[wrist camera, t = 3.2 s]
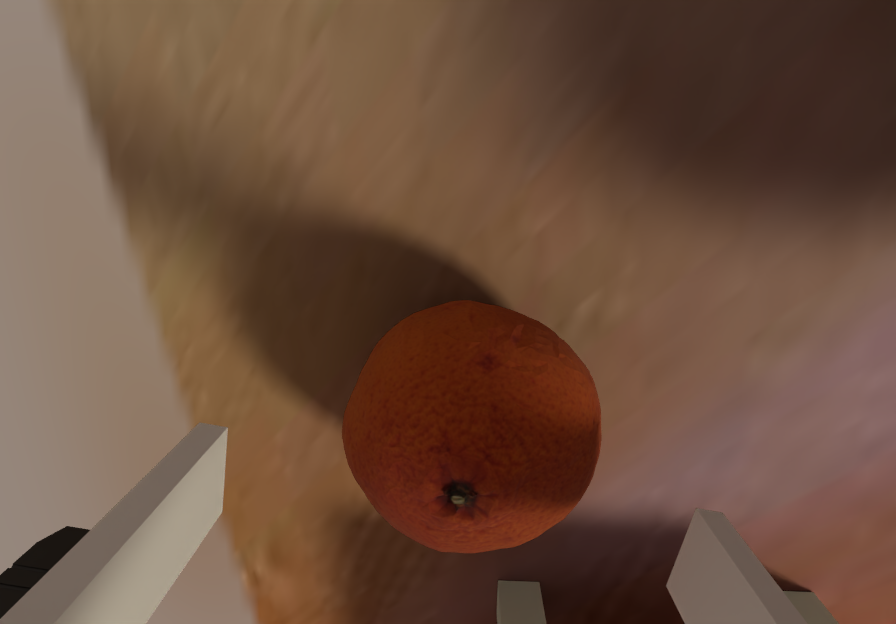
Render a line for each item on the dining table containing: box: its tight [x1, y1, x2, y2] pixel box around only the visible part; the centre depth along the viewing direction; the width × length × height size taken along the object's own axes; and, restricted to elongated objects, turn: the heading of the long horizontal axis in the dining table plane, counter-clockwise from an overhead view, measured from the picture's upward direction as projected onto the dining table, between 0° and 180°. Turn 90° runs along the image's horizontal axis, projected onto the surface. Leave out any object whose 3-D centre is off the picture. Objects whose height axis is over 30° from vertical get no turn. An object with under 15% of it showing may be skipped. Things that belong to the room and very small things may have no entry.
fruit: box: [342, 300, 601, 553], centre depth 17 cm, size 9×9×8 cm
